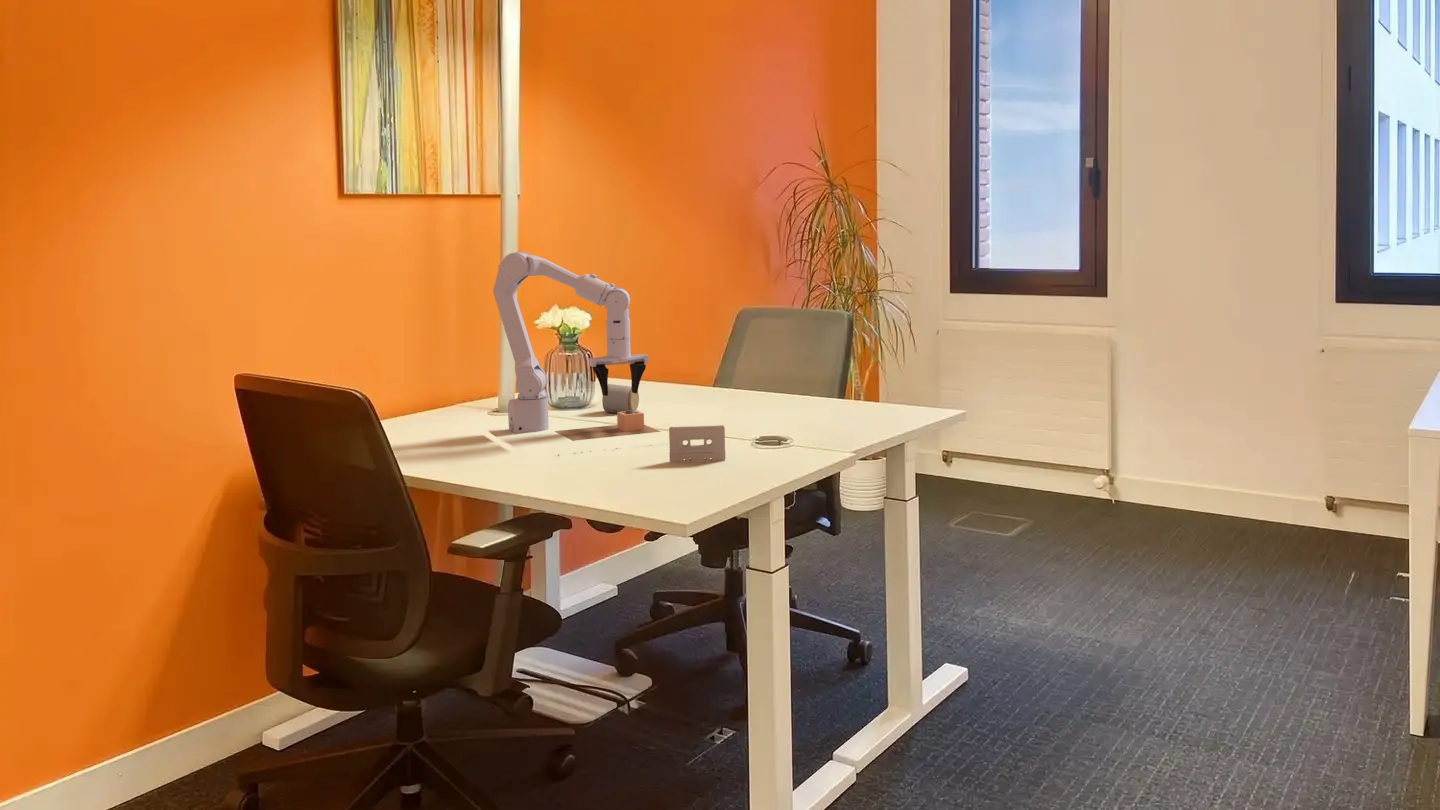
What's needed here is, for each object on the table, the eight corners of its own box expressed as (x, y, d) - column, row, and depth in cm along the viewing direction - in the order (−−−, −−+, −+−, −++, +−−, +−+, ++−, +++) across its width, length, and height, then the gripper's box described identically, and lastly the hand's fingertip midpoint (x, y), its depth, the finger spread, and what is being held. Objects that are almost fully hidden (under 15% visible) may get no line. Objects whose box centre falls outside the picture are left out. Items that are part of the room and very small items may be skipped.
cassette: (669, 463, 263) (668, 428, 262) (669, 461, 265) (668, 426, 264) (725, 461, 264) (725, 426, 263) (725, 459, 266) (724, 424, 265)
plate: (573, 444, 286) (572, 421, 285) (554, 435, 298) (553, 412, 297) (660, 435, 295) (660, 412, 294) (639, 426, 307) (638, 404, 306)
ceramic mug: (630, 415, 324) (630, 386, 323) (602, 414, 326) (601, 385, 325) (644, 409, 334) (644, 381, 333) (616, 408, 336) (616, 380, 335)
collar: (624, 431, 295) (624, 415, 295) (617, 428, 300) (617, 412, 299) (644, 429, 298) (643, 413, 297) (636, 426, 302) (636, 410, 301)
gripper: (595, 341, 291) (597, 398, 293) (652, 338, 297) (653, 393, 299) (585, 339, 297) (587, 394, 299) (641, 335, 303) (643, 390, 305)
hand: (620, 394), depth 300 cm, fingers open, 7 cm apart
